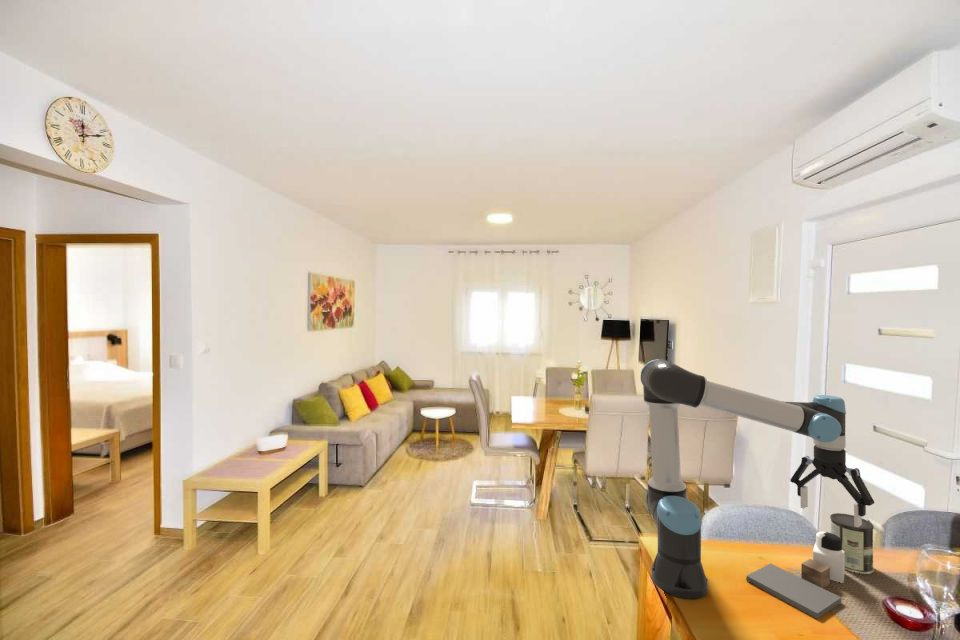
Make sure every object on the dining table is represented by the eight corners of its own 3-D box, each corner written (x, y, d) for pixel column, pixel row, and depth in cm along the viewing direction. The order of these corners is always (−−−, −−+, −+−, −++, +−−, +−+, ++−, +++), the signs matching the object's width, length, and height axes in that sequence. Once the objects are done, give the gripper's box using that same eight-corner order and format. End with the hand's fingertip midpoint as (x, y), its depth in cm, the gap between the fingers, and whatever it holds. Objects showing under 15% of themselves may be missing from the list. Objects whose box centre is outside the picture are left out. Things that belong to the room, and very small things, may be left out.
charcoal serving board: (746, 580, 125) (746, 575, 125) (770, 568, 131) (770, 563, 131) (817, 619, 109) (817, 613, 109) (841, 602, 115) (841, 597, 115)
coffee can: (858, 557, 137) (858, 514, 137) (882, 576, 127) (882, 530, 127) (822, 553, 139) (822, 511, 139) (842, 572, 129) (843, 526, 129)
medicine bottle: (844, 573, 128) (844, 534, 128) (843, 584, 123) (843, 543, 123) (814, 564, 133) (815, 526, 133) (812, 574, 128) (812, 535, 128)
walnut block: (801, 579, 125) (801, 563, 125) (810, 575, 128) (810, 558, 128) (821, 589, 121) (821, 572, 121) (829, 584, 123) (829, 567, 123)
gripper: (888, 456, 119) (889, 531, 119) (790, 435, 141) (790, 498, 141) (877, 461, 115) (877, 538, 115) (777, 438, 137) (778, 502, 137)
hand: (829, 516), depth 128 cm, fingers open, 13 cm apart
